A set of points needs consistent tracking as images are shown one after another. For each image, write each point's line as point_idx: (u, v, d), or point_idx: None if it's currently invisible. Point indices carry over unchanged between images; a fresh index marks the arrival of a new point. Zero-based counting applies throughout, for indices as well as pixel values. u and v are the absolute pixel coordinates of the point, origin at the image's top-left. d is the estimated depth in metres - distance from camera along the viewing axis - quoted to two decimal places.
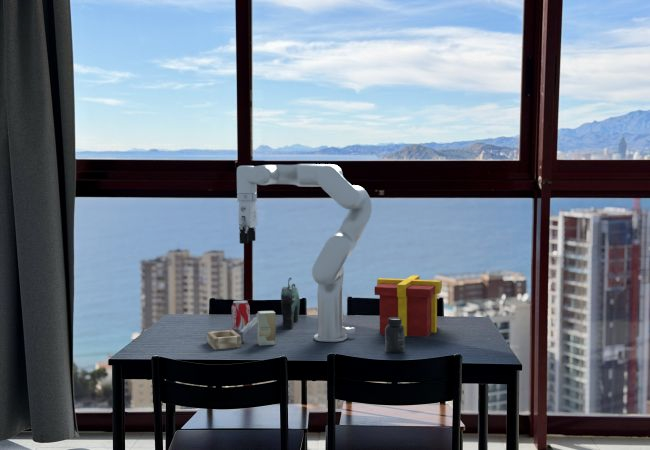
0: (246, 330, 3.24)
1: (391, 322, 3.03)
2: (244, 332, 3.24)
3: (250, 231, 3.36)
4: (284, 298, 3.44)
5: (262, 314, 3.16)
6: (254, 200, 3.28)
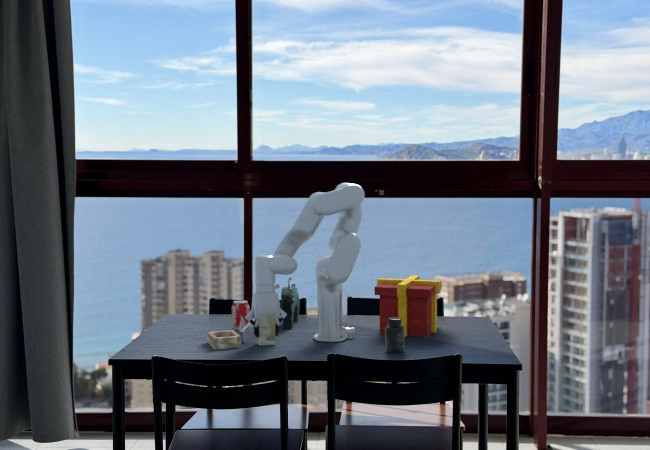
0: (246, 330, 3.24)
1: (391, 322, 3.03)
2: (244, 332, 3.24)
3: (258, 327, 3.18)
4: (284, 298, 3.44)
5: None
6: None
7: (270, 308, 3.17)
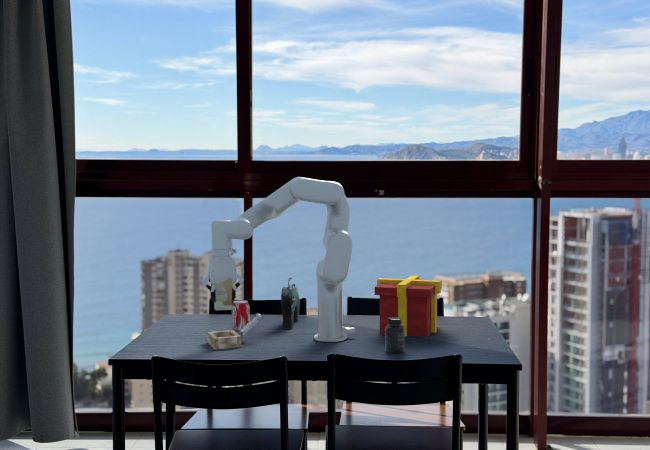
0: (246, 330, 3.24)
1: (391, 322, 3.03)
2: (244, 332, 3.24)
3: (214, 292, 3.16)
4: (284, 298, 3.44)
5: None
6: None
7: (226, 272, 3.15)
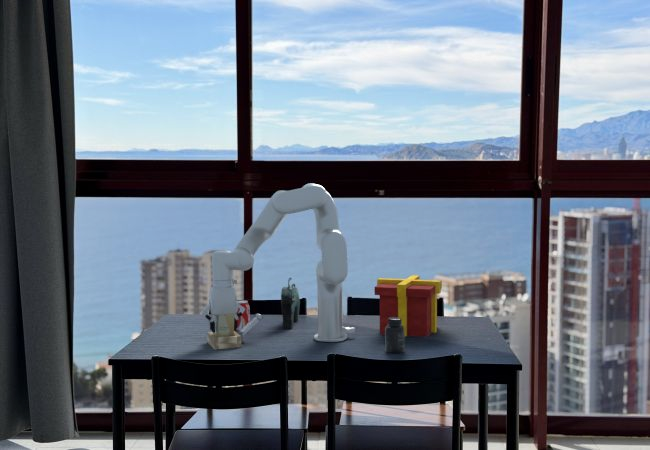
0: (246, 330, 3.24)
1: (391, 322, 3.03)
2: (244, 332, 3.24)
3: (213, 322, 3.17)
4: (284, 298, 3.44)
5: (221, 314, 3.16)
6: None
7: (227, 303, 3.16)
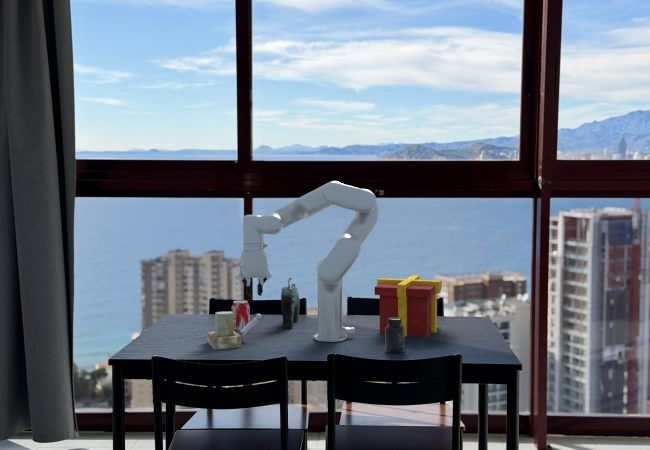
0: (246, 330, 3.24)
1: (391, 322, 3.03)
2: (244, 332, 3.24)
3: None
4: (284, 298, 3.44)
5: (220, 315, 3.16)
6: None
7: (258, 266, 3.23)
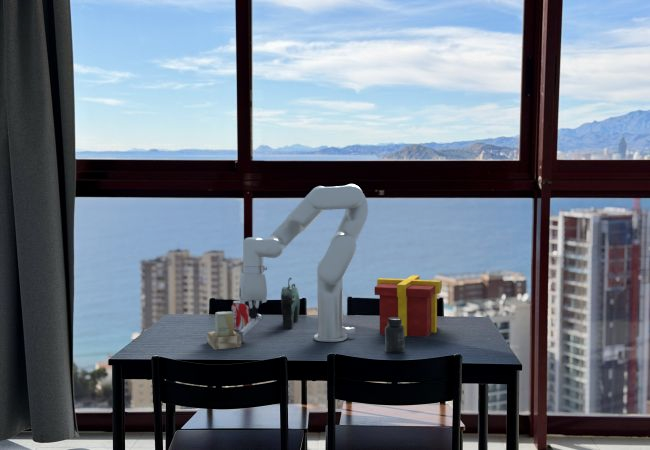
0: (246, 330, 3.24)
1: (391, 322, 3.03)
2: (244, 332, 3.24)
3: None
4: (284, 298, 3.44)
5: (220, 315, 3.16)
6: None
7: (257, 289, 3.23)
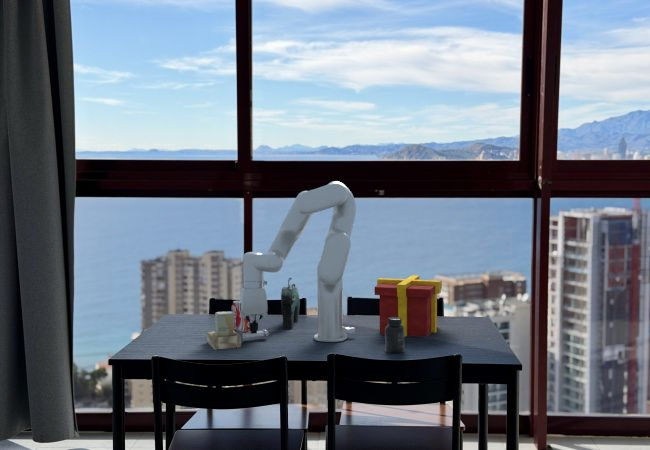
0: (248, 335, 3.24)
1: (391, 322, 3.03)
2: (245, 336, 3.24)
3: None
4: (284, 298, 3.44)
5: (220, 315, 3.16)
6: None
7: (257, 304, 3.24)
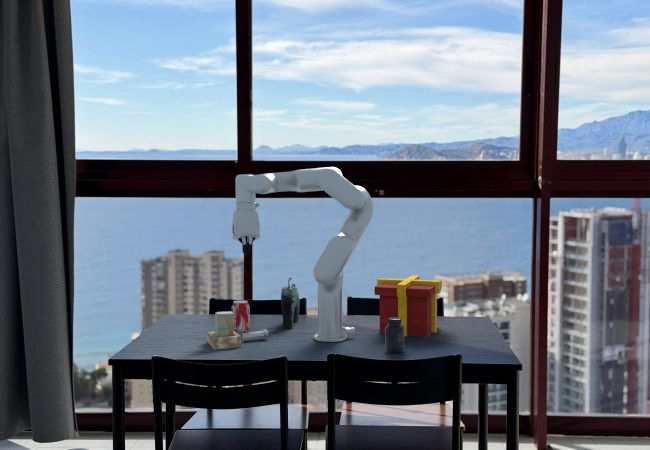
0: (248, 335, 3.24)
1: (391, 322, 3.03)
2: (245, 336, 3.24)
3: None
4: (284, 298, 3.44)
5: (220, 315, 3.16)
6: None
7: (250, 225, 3.27)
